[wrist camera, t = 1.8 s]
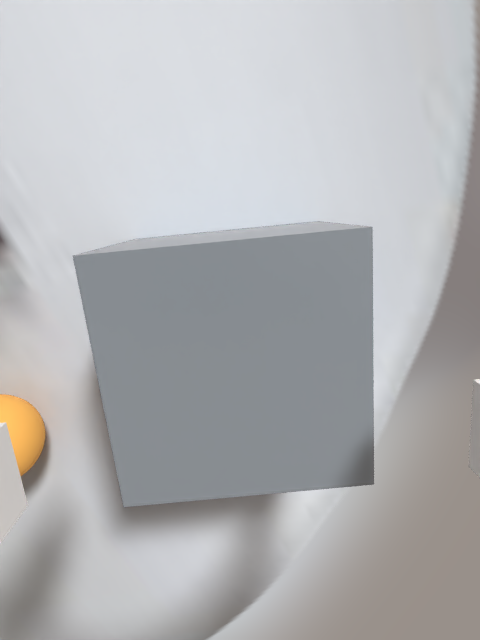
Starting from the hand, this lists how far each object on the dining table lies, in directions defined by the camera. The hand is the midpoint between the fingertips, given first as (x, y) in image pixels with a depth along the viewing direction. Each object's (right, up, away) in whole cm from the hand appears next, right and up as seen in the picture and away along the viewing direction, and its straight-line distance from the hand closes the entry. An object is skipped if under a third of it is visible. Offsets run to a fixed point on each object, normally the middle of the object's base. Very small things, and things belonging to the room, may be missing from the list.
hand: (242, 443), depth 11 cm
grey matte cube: (0, +4, +12) cm, 13 cm away
